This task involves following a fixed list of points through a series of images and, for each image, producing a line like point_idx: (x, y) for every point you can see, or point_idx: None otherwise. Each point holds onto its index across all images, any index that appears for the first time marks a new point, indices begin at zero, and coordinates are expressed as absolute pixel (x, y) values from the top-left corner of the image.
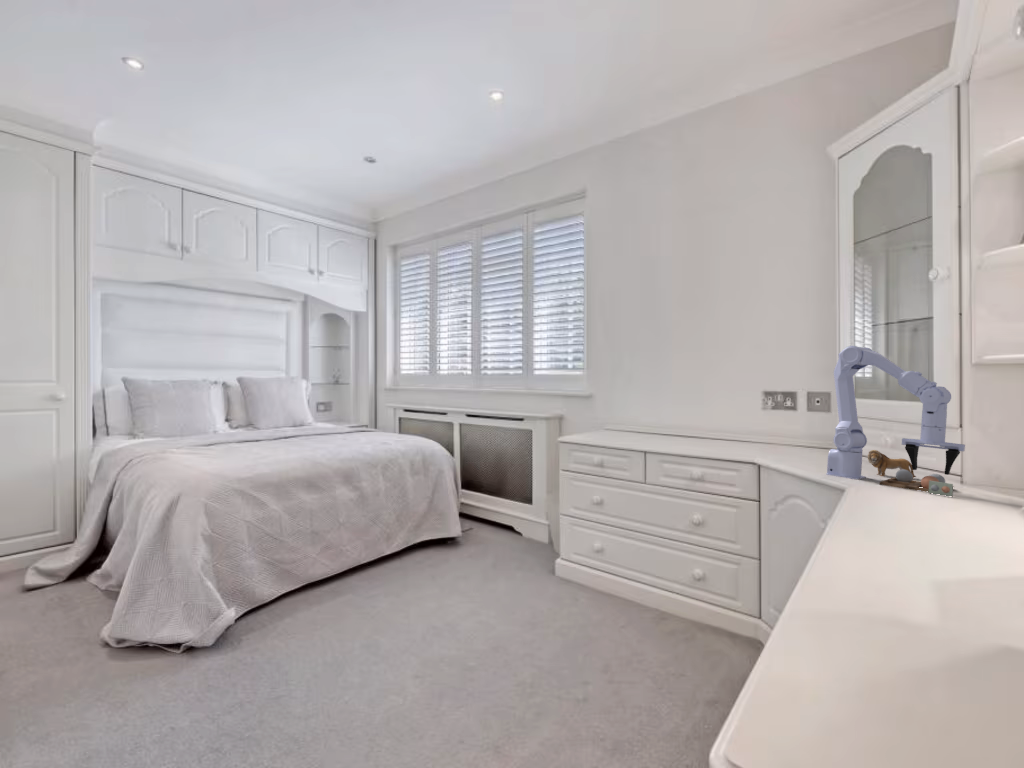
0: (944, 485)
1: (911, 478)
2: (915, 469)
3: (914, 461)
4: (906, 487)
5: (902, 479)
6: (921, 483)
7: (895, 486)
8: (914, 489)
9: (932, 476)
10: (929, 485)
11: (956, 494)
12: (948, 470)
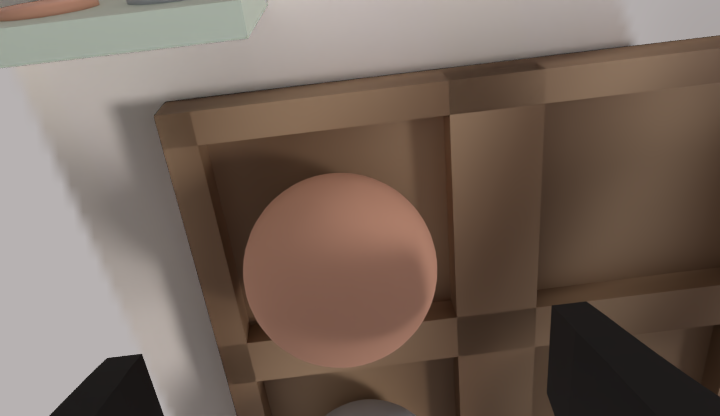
0: (38, 16)
1: None
2: (553, 334)
3: (640, 396)
4: (529, 66)
5: None
6: (414, 207)
7: (642, 49)
8: (443, 74)
9: (318, 321)
10: None
11: (159, 331)
12: (58, 409)
